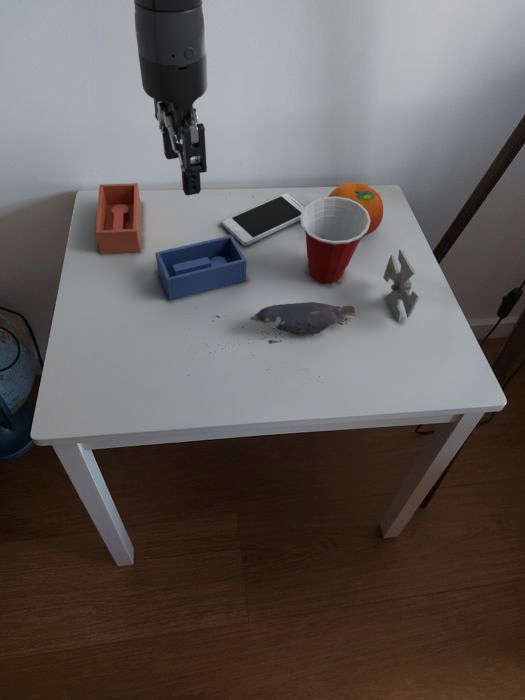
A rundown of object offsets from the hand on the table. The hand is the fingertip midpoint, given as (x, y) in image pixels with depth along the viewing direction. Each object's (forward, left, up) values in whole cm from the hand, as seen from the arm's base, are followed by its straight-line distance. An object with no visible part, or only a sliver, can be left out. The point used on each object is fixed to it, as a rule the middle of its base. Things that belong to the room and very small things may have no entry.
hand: (182, 174), depth 69 cm
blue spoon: (+2, 0, -20) cm, 20 cm away
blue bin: (+2, 0, -20) cm, 20 cm away
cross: (+29, -17, -20) cm, 39 cm away
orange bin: (-8, +17, -20) cm, 27 cm away
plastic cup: (+22, -6, -20) cm, 31 cm away
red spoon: (-8, +16, -20) cm, 26 cm away
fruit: (+32, +3, -20) cm, 38 cm away
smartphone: (+18, +10, -20) cm, 29 cm away
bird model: (+13, -16, -20) cm, 29 cm away
